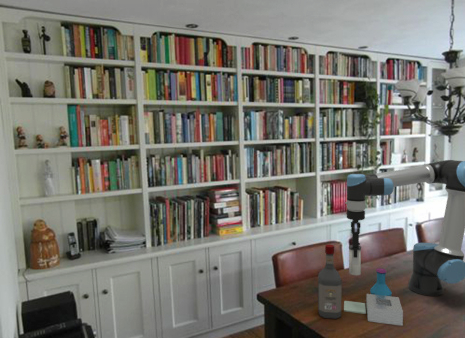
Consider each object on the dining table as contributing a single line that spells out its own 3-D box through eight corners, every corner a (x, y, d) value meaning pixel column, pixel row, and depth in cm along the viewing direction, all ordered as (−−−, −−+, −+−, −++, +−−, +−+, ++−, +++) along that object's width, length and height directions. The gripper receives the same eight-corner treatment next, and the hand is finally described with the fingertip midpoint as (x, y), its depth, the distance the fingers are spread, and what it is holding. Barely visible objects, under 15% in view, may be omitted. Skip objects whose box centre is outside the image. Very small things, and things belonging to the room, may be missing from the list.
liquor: (341, 319, 147) (342, 249, 144) (319, 318, 148) (319, 248, 145) (339, 309, 156) (339, 243, 153) (317, 307, 157) (318, 242, 154)
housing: (398, 310, 153) (398, 297, 153) (402, 325, 141) (402, 311, 140) (366, 306, 157) (366, 293, 157) (367, 321, 145) (368, 307, 144)
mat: (365, 304, 159) (365, 303, 159) (365, 314, 151) (365, 312, 151) (344, 301, 162) (344, 300, 162) (344, 311, 154) (344, 309, 154)
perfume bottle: (389, 307, 156) (390, 274, 155) (368, 302, 161) (368, 271, 159) (392, 299, 164) (393, 268, 162) (372, 294, 169) (372, 264, 167)
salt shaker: (361, 271, 157) (361, 245, 156) (361, 276, 152) (361, 248, 151) (348, 270, 158) (348, 244, 157) (348, 274, 153) (348, 248, 152)
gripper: (346, 205, 162) (346, 254, 164) (346, 213, 145) (345, 268, 147) (364, 206, 160) (363, 255, 162) (365, 214, 143) (365, 270, 145)
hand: (355, 261), depth 154 cm, fingers closed on salt shaker, 5 cm apart
